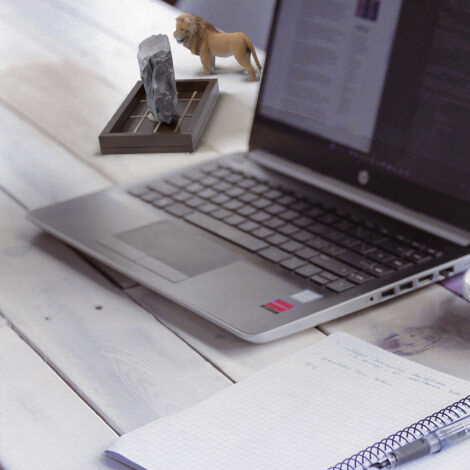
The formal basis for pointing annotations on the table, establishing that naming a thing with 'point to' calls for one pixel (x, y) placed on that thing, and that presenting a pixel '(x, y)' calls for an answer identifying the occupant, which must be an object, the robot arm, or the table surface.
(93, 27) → the table surface
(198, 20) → the lion figurine
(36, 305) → the table surface
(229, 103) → the table surface
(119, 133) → the board
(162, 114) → the stone
